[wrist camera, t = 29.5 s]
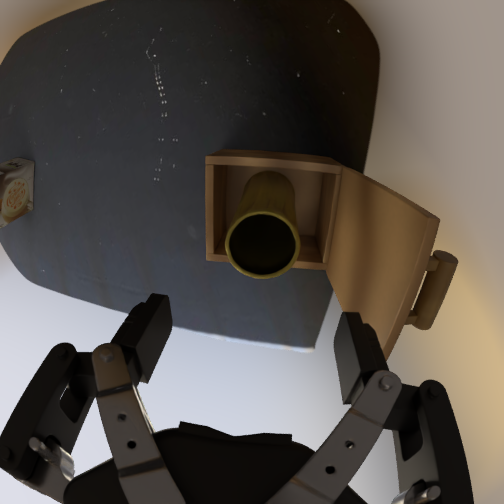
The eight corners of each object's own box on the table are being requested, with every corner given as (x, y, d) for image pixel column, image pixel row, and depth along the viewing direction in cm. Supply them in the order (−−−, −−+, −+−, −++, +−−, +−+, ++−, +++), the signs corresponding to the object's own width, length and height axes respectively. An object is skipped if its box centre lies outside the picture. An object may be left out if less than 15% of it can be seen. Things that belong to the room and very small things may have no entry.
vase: (235, 210, 33) (208, 268, 20) (252, 162, 30) (234, 190, 17) (283, 227, 33) (286, 295, 20) (302, 181, 31) (321, 223, 18)
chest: (220, 232, 35) (206, 260, 28) (222, 148, 30) (205, 155, 23) (319, 240, 34) (328, 270, 27) (329, 157, 30) (345, 166, 23)
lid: (368, 377, 15) (425, 368, 15) (429, 217, 10) (488, 227, 10) (325, 272, 27) (368, 273, 27) (342, 166, 22) (389, 174, 22)
